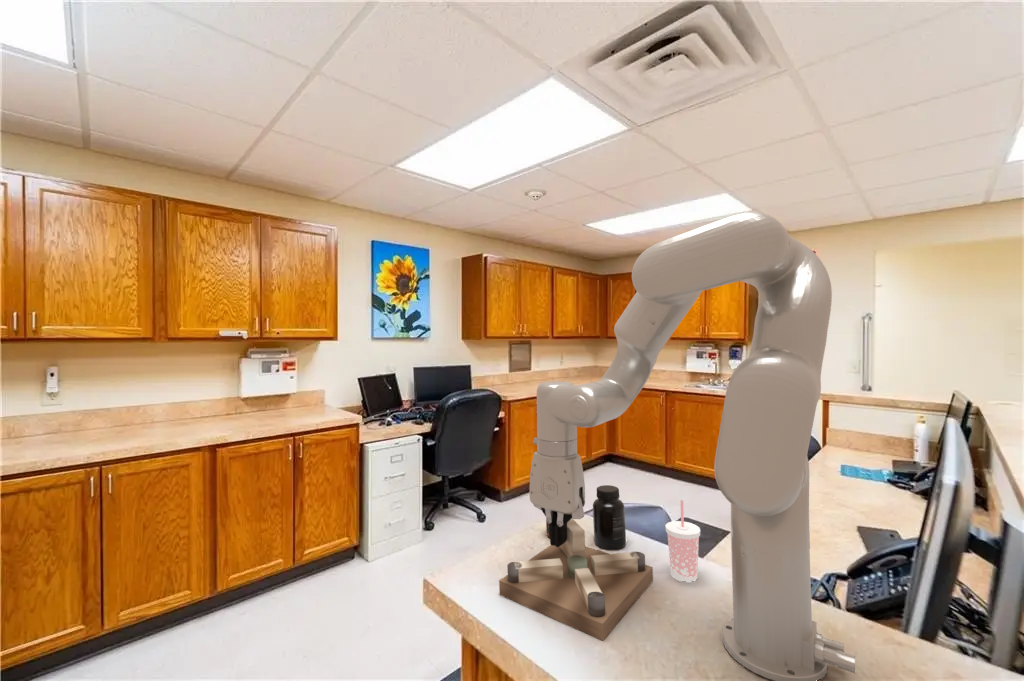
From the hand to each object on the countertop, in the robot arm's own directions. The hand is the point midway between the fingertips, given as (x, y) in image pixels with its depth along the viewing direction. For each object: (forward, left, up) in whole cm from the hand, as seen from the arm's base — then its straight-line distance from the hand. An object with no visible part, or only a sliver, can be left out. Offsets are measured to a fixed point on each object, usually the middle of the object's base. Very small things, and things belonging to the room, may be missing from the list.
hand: (558, 543), depth 82 cm
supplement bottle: (-2, -17, -6) cm, 19 cm away
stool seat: (-5, +2, -6) cm, 8 cm away
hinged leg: (0, -4, -3) cm, 5 cm away
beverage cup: (-19, -13, -6) cm, 24 cm away
